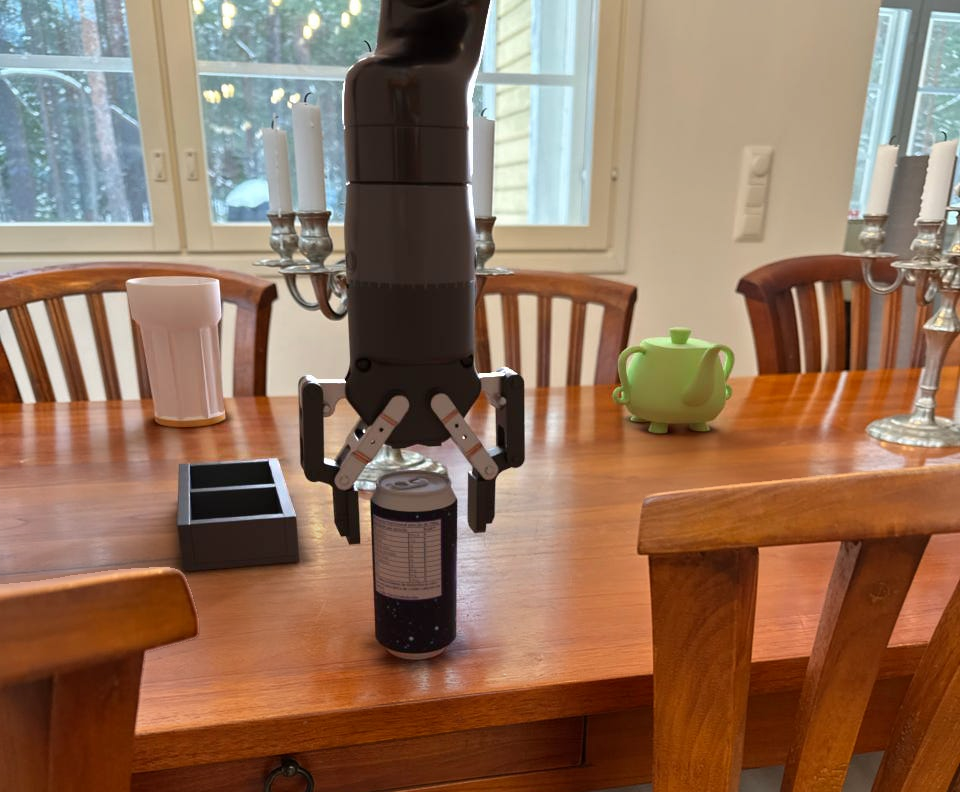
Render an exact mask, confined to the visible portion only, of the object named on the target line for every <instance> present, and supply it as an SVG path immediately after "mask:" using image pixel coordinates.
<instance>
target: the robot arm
mask: <svg viewBox="0 0 960 792" xmlns="http://www.w3.org/2000/svg"><path fill="white" fill-rule="evenodd" d="M492 2H493V1H492V0H380V11H379V20H378V27H377V35H376V43H375V48H374V53H373V55H370V56H367V57H365V58H362V59H360V60H358V61H357V62H355V63H354V64H353V65H352V66H351V67H350V68H349V69H348V71H347V72H346V75H345V79H344V83H343V90H342V125H343V127H344V128H343V145H344V146H343V147H344V168H345V181H346V184H345V207H344V217H343V218H344V219H343V220H344V221H343V242H344V263H345V264H344V265H345V283H346V287H345V288H346V306H347V327H348V345H349V365H348V370H347V373H346V375H345V377H344V379H317V378H316V377H315V376H313V375H310V374H305V375H302V376H301V377H300V378H299V380H298V382H297V393H298V427H299V431H298V432H299V435H298V436H299V462H300V463H299V464H300V466H301V469H302V470H303V475H304V477H305V479H306V480H307V481H309V482H311V483H318V482H319V483H322V484H325V485H328V486H330V487H331V491H332V492H331V493H332V508H333V523H334V525H335V527H336V530H337V532H338V533H339V536H340V538H345V539H346V541H347V543H348V545H350V546H353V545H361V521H360V503H359V501H360V500H359V490H358V488H357V486H356V484H355V483H356V481H357V480H358V479H359V477H360V475H361V474H362V472H364V469H366V467H367V465H368V464H369V463H371V462H373V460H374V459H375V458H376V456H377V455H378V453H379V452H380V450H381V449H382V447H383V445H386V446H388V447H390V448H391V449H392V450H398V449H399V450H400V449H407V448H410V447H413V446H416V445H420V446H424V447H429V448H435V447H442V444H443V443H445V442H447V441H448V440H449V439H450V440H451V441H452V443H453V444H454V445H455V446H456V447H457V449H458V450H459V451H460V452H461V454H462V455H463V457H464V458H465V459H466V460H467V462H468V463H469V464H470V466H471V471H467V516H466V517H467V518H466V519H467V525H468V527H469V528H470V530H471V531H472V532H473V533H474V534H485V533H486V532H487V525H488V524H489V525H490V524H491V525H492V524H493V521H494V519H495V517H496V485H497V484H496V483H497V478H498V476H499V475H500V474H501V473H502V472H504V471H506V470H508V469H511V468H512V469H518V468H521V467H522V466H523V464H524V463H525V461H526V441H525V439H526V427H525V426H526V423H525V422H526V421H525V420H526V419H525V418H526V417H525V415H526V413H525V411H526V410H525V407H526V406H525V400H526V399H525V398H526V397H525V396H526V395H525V380H524V378H523V376H522V375H521V374H518V373H517V372H515V371H513V370H512V369H510V368H509V367H506V366H502V367H499V368H498V369H497V370H496V371H495V372H490V373H478V372H477V369H476V365H475V330H476V329H475V327H476V326H475V322H476V318H475V317H476V272H477V269H478V252H477V245H476V244H477V231H476V229H477V227H476V217H475V210H474V200H473V199H474V198H473V186H472V185H471V184H472V183H473V140H474V139H473V136H474V135H473V133H474V132H473V128H474V127H473V101H472V100H473V94H474V89H475V85H476V84H475V83H476V81H477V80H476V79H477V76H478V72H479V68H480V66H481V65H480V64H481V62H482V61H481V60H482V57H483V56H482V55H483V51H484V45H485V41H486V40H485V39H486V33H487V29H488V24H489V17H490V12H491V7H492ZM347 182H348V183H347ZM481 393H484V394H485V396H486V397H485V398H486V401H487V402H488V404H489V405H491V406H492V407H493V408H494V409H495V412H494V414H495V417H494V419H495V446H494V447H492V448H489V449H486V448H485V447H484V445H483V443H482V441H481V440H480V439H479V438H478V436H477V434H476V433H475V432H474V431H473V429H472V428H471V426H470V425H469V424H468V422H467V421H466V420H465V418H466V416H467V415H468V414H469V412H470V410H471V409H472V408H473V406H474V405H475V403H476V401H477V400H478V399H479V397H480V395H481ZM343 399H346V401H347V402H348V404H349V405H350V406H351V408H352V409H353V410H354V411H355V413H356V414H357V415H358V416H359V417H358V419H357V420H356V422H355V424H354V425H353V427H352V428H351V430H350V431H349V433H348V434H347V437H346V439H345V442H344V444H343V446H342V447H341V449H340V450H339V452H338V453H337V455H336V456H335V457H334V459H329V458H326V457H325V420H324V419H325V418H329V417H331V416H332V415H334V413H335V411H336V406H337V404H338V402H339V401H341V400H343Z"/></svg>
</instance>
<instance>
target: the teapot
mask: <svg viewBox="0 0 960 792" xmlns="http://www.w3.org/2000/svg"><path fill="white" fill-rule="evenodd" d="M668 333H669V336H666V337H665V336H664V337H663V336H662V337H660V336H657V337H647V338H646V337H645V338H644V339H643V340H642V341H641V342H640V344H639V345H636V344H635V345H631V346H628V347H627V348H625V349H623V351H622V352H621V353H620V354H619V356H618V359H617V371H618V377H619V381H620V386H618V387H616V388H615V389H614V390H613V392H612V401H613V402H614V404H616V405H618V406H625V408H626V410H627V411H628V413H630V414H631V415H633V416H632V417H631V418H630V421H632V422H636V423H647V422H651V423H650V424H649V428H648V430H647V431H648V432H650V433H654V434H665V433H668V429H669V424H689V427H690V430H692V431H696V432H709V431H710V427H709V426H708V423H707V422H712V421H714V420H715V419H717V417H719V416H720V414H721V413H722V411H723V410H724V409H725V406H726V404H727V403H726V402H727V401H728V400H730V399H731V397H732V395H733V388H732V386H731V385H730V384H728V383H727V381H728V380H729V377H730V375H731V374H732V371H733V369H734V365H735V361H736V357H735V353H734V351H733V349H731V347H729V346H728V345H727V344H723V343H720V342H719V343H712V342H710V341H706V340H704V339H703V340H702V339H698V338H693V337H690V336H691V334H692V329H690V328H689V327H670V328H668ZM720 352H723V353H725V362H724V366H723V364H722V361H721V358H720V354H719V353H720ZM631 355H633V356H632V357H631V360H630V362H629V364H628V366H627V361H628V359H629V357H630V356H631ZM620 395H621V398H620Z"/></svg>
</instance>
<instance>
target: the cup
mask: <svg viewBox="0 0 960 792" xmlns="http://www.w3.org/2000/svg"><path fill="white" fill-rule="evenodd" d="M125 288H126V293H127V294H126V295H127V299H128V304H129V309H130V315H131V319H132V320H133V321H135V323H136V324H137V325H138V326H139V328H140V335H141V340H142V346H143V352H144V355H145V356H144V357H145V358H144V359H145V363H146V368H147V375H148V379H149V385H150V392H151V397H152V403H153V408H154V414H153V415H154V422H155V423H157V425H160V426H165V427H170V428H198V427H205V426H206V427H207V426H211V425H215V424H219V423H221V422H222V421H225V420H226V412H225V411H226V410H225V402H224V401H225V400H224V390H223V388H224V387H223V376H222V365H221V353H220V341H219V340H220V339H219V338H220V337H219V327H218V324H219V322H220V321H221V319H222V303H221V289H220V288H221V287H220V280H219V279H216V278H213V277H206V276H205V277H204V276H189V275H188V276H186V275H184V276H183V275H171V276H170V275H165V276H163V275H161V276H147V277H146V276H144V277H137V278H130V279H127V280H125Z"/></svg>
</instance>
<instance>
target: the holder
mask: <svg viewBox="0 0 960 792" xmlns="http://www.w3.org/2000/svg"><path fill="white" fill-rule="evenodd" d="M177 479H178V481H177V482H178V483H177V514H176V517H177V518H176V527H177V535H178V542H179V550H180V555H181V563H182V569H183V572H185V573H187V572H199V571H209V570H210V571H211V570H221V569H230V568H231V569H232V568H233V569H234V568H244V567H255V566H264V565H265V566H267V565H277V564H289V563H299V562H300V561H301V559H300V548H299V533H298V523H297V514H296V511H295V509H294V505H293V502H292V499H291V496H290V493H289V489H288V487H287V484H286V483H287V482H286V480H285V478H284V474H283V471H282V468H281V464H280V462H279V459H278V458H277V457H274V458H273V457H271V458H259V459H258V458H257V459H238V460H237V459H236V460H221V461H207V462H206V461H205V462H190V463H189V462H187V463H179V464H178V478H177Z"/></svg>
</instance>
